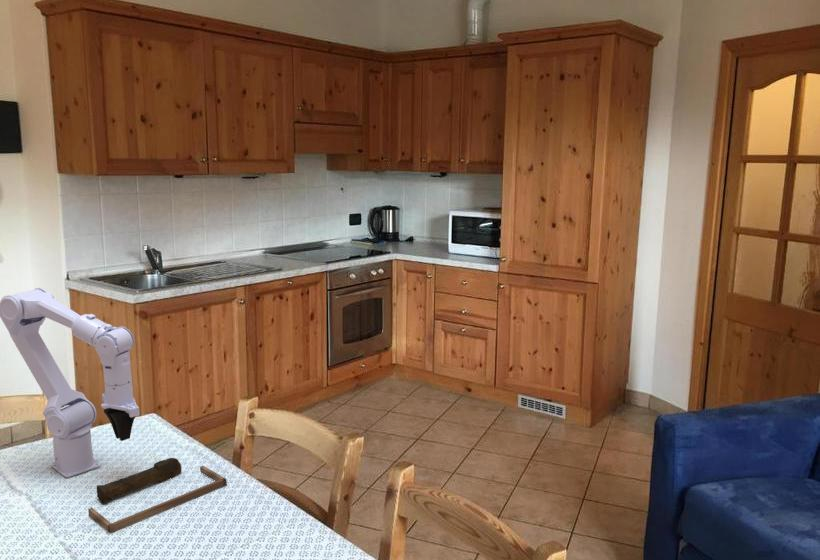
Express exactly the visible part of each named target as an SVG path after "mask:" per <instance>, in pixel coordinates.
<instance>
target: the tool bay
mask: <svg viewBox="0 0 820 560" xmlns="http://www.w3.org/2000/svg"><path fill="white" fill-rule="evenodd" d="M199 470H200V472H201V473H200V474H202V473H203V474H202V475H204V474H205V475H207V476H208V477H207V476H206V477H207V478H209V477H210V478H212V479H213V480H212V479H211V480H212V481H213V482H211V483H208V484H205V485H203V486H201V487H198V488H196V489H194V490H190V491H188V492H185V493H183V494H180V495H178V496H175V497H173V498H171V499H169V500H166V501H163V502H161V503H158V504H156V505H153V506H151V507H148V508H146V509H144V510H141V511H139V512H136V513H134V514H131V515H129V516H126V517H124V518H122V519H119V520H116V521H114V522H110V521H109V520H108V519H107V518H106V517H104V515H102V514H101V513H99V512H98V511H97V510H95V508H93V507H89V508H88V516H89V517H90V518H91V519H92V520H93V521H95V522H96V523H97V524H98V525H100V527H101V528H103V529H104V530H105V531H106V532H108V533H109V534H111V533H113V532H117V531H119V530H121V529H125V528H126V527H129V526H131V525H133V524H136V523H138V522H141V521H143V520H146V519H148V518H150V517H153V516H156V515H157V514H160V513H162V512H164V511H167V510H169V509H172V508H175V507H177V506H179V505H182V504H184V503H186V502H189V501H191V500H194V499H196V498H198V497H201V496H203V495H204V496H205V495H206V494H209V493H211V492H213V490H214V491H216V490H218V489H220V487H221V488H223V487H225V485H226V486H228V485H227V483H228V482H227V478H226V477H224V476H222V475H221V474H218V473H217V472H215V471H214V470H212V469H210V468H209V467H206V466H205V465H201V466H199ZM205 475H204V476H205ZM210 478H209V479H210ZM214 480H215V481H214ZM217 488H218V489H217ZM215 489H216V490H215Z"/></svg>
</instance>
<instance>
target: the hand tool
mask: <svg viewBox="0 0 820 560" xmlns="http://www.w3.org/2000/svg"><path fill="white" fill-rule="evenodd" d="M181 473H182V464H181V462H180V461H179V460H178V458H175V457H168V458H166V459H163V460H159V461H157V462H155V463H154V464H153V466H152V467H149V468H147V469H145V470H142V471H139V472H135V473H134V474H131V475H128V476H125V477H123V478H119V479H117V480H114V481H111V482H107V483H105V484H101V485H99V484H97V486H96V497H97V499H98V501H99V502H100V503H102V504H106V503H107V502H108V501H111V502H112V501H114V499H115V498H119V497H120V496H123V495H125V494H127V493H131V492H134V491H136V490H139V489H142V488H143V487H146V486H149V485H151V484H155V483H159V484H161V483H164V482H167V481H169V480H171V479H173V478H175V477H177V476H178V475H179V474H181ZM170 478H171V479H170Z"/></svg>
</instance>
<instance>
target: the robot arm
mask: <svg viewBox="0 0 820 560" xmlns="http://www.w3.org/2000/svg"><path fill="white" fill-rule="evenodd" d="M0 319H1V320H2V323H3V324H4V326H5V328H6V329H7V331H8V333H9V335H10V338H11V340H12V342H13V343H14V345H15V347H16V349H17V350H18V352H19V353H20V356H21V357H22V359H23V360H24V362H25V363H26V366H27V367H28V369H29V370H30V373H31V374H32V376H33V378H34V379H35V381H36V383H37V385H38V386H39V388H40V390H41V392H42V393H43V395H44V396H45V398H46V400H47V403H46V404H45V407H44V410H43V412H42V415H43V416H44V417H43V418H44V419H45V421H46V427H47V430H48V431H49V433H50V434H51V435H52V436H53V438H52V445H53V455H54V462H53V463H51V464H50V466H51V467H52V468H53V469H54V470H55V471H56V472H57V473H59V474H61V475H62V476H63V477H65V478H66V479H67V478H71V477H74V476H77V475H79V474H83V473H86V472H88V471H89V472H90V471H91V470H95V469H98V468H100V467H101V464H100V463H98V462H97V461H96V460H94V454H93V443H92V436H91V435H92V433H91V429H93V423H94V422H95V421H96V419H97V416H98V415H97V414H98V413H97V409H96V407H95V405H94V404H93V402H91V401H90V400H88V398H87V397H86V395H85V394H84V392H81V391H78V390H74V389H72V388H71V386H70V385H69V383H68V381H67V379H66V378H65V376H64V374H63V373H62V371H61V369H60V367H59V365H58V364H57V362H56V360H55V359H54V357H53V355H52V353H51V352H50V350H49V348H48V346H47V345H46V343H45V342H44V340H43V338H42V337H41V335H40V333H39V331H40V328H41V326H42V325H43V324H44V322H45V320H46V319H49V320H51V321H53V322H56V323H58V324H59V325H62V326H65V327H67V328H69V329H71V333H72V336H74V337H76V338H77V339H78V340H80V341H82V342H84V343H85V344H88V345H90V346H92V347H93V348H94V349H95V352H96V353H97V355H98V356H99V360H100V364H101V365H102V370H103V381H104V393H101V401H102V402H103V403H101V404H100V407H101V409H103V413H104V414H105V416H106V417H107V418H108V420H109V422H110V424H111V427H112V430H113V432H114V435H115V438H116V439H117V440H118V439H119V441H121V442H123V441H126V440H129V439H130V438H131V434H132V429H133V425H134V422H135V419H136V417H138V416H140V414H141V413H140V406H138V404H137V402H136V400H135V397H134V392H133V391H134V389H133V378H132V363H131V353H130V351H131V350H132V349H134V348H133V347H135V337H134V335H133V332H131V330H130V329H128V328H127V327H125V326H119V327H117V326H113V325H112V324H109V323H106V322H105V321H103V320H101V319H99V318H97V316H96V315H95V314H93V313H89V314H88V313H85V314H82V315H80V314H79V313H77V312H76V311H74V310H73V309H71V308H69V307H68V306H66V305H64V304H63V303H61V302H60V301H58V300H57V299H55V296H54V295H53V293H52V292H50V291H48V290H45V289H44V288H42V287H41V288H40V287H37V288H34V289H31V290H26V291H23V292H19V293H14V294H7V295H4V296H3V297H2V298H1V300H0Z"/></svg>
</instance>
